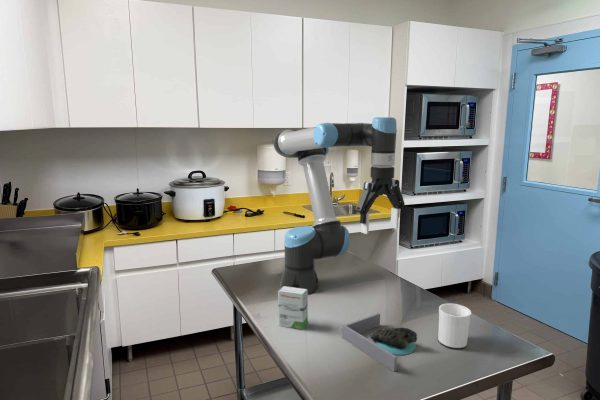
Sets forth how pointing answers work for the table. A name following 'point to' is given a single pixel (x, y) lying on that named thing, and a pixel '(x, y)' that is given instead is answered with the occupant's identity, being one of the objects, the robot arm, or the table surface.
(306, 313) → the ink box
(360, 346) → the grey angle bracket
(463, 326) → the mug
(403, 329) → the stone
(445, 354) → the table surface
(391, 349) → the teal mat
